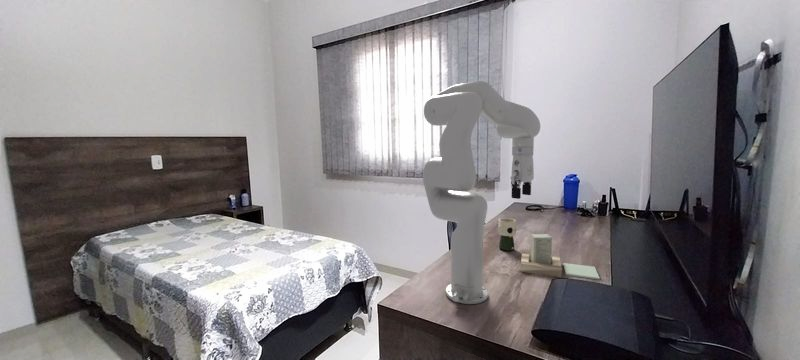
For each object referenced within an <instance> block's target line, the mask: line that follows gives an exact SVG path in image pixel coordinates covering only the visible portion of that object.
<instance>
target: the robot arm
mask: <svg viewBox="0 0 800 360" xmlns="http://www.w3.org/2000/svg"><path fill="white" fill-rule="evenodd" d="M423 106H424V107H423V114H424V115H423V116H424V118H425V121H426V122H428V124H430V125H432V126H437V127H438V126H439V127H440V126H446V127H445V129H444V130H443V131H442V134H441V136H440V139H439V144H438V145H439V152H440V157H433V158H430V159H428V161H427V162H426V163H425V164H424V167H423V169H422V170H423V172H422V181H423V185H424V186H423V187H424V189H425V194H426V198H427V202H428V206H429V208H430V212H431V213H432V215H433V216H434V217H435V218H437V219H439V220H443V221H448V222H453V223H456V224H457V226H456V227H455V229H454V231H452V234H451V236H450V284H448V285H446V288H445V295H446V296H447V297H448V298H449V299H450V300H452V301H453V302H455V303H459V304H465V305H476V304H480V303H483V302H485V301H486V300H487V299H488V297H489V292H488V290H487V288H485V286H484V285H483V283H484V282H483V280H484V279H483V278H484V271H483V270H484V234H485V233H484V232H485V225H486V224H485V223H486V219H487V215H488V202H487V200H486V199H485V197H484V196H482V195H480V194H479V193H477V192H470V190H473V189H474V187H475V186H476V183H477V175H476V167H475V161H474V156H473V151H472V144H471V139H472V134H473V131H474V128H475V126H476V124H477V122H478V120H479V118H480V117H481V118H482V119H484V120H485V121H486V122H487V123H489V124H492V125H496V132H497V134H498V136H499V137H500V138H503V139H511V140H512V143H511V156H512V162H511V164H512V165H511V175H510V185H511V186H510V187H511V198H512V199H518V200H519V199H521V194H522V195H523V196H524V195H525V196H531V195H532V181H533V180H534V176H535V175H534V168H535V167H534V157H533V156H534V145H535V144H534V142H535V137H537V136H538V135H539V133H540V131H541V122H540V119H539V117H538V116H537V114H536V113H535V112H534V111H533V110H532V109H531V108H530V107H527V106H524V105H521V104H518V103H516V102H513V101H508V100H506V99H504V97H503V96H501V94H500V93H499V92H498V91H497V90H496V89H495V88H493V86H492V85H491V84H490V83H489V82H486V81H483V80H476V81H469V82H464V83H458V84H454V85H451V86H450V87H447V88H445V89H444V90H442V91H440V92H438V93H436V94H434V95H432V96H431V97H429V98H428V99H427V101H425V103H424V105H423ZM521 184H522V189H521ZM521 190H522V191H521Z"/></svg>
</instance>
